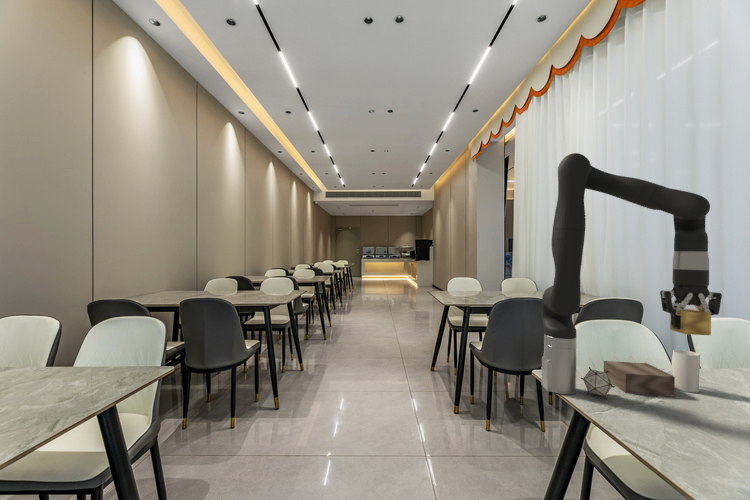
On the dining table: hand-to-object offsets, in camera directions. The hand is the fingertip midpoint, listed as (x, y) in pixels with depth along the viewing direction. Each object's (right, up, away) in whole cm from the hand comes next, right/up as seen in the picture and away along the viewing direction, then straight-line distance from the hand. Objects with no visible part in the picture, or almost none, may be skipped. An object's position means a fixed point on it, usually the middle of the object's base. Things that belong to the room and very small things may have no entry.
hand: (690, 329), depth 97 cm
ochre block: (0, -1, 0) cm, 1 cm away
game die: (-18, -24, +12) cm, 32 cm away
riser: (+1, -24, +21) cm, 31 cm away
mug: (+16, -24, +20) cm, 35 cm away
